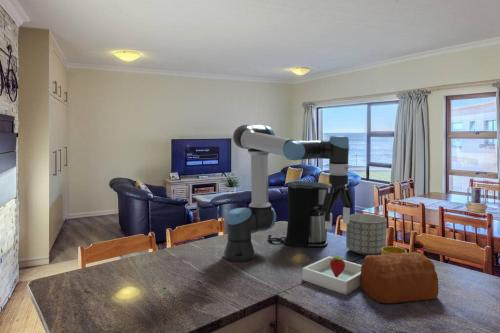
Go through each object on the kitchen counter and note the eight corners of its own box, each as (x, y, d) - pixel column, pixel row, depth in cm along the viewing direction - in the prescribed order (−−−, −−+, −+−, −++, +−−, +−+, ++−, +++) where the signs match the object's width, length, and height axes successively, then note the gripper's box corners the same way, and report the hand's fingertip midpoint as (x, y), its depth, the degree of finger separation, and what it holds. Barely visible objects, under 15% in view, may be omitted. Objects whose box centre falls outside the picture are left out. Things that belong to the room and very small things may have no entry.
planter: (389, 251, 180) (390, 216, 179) (380, 262, 164) (381, 224, 163) (352, 245, 190) (352, 212, 189) (341, 255, 175) (341, 219, 173)
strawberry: (341, 274, 149) (343, 251, 148) (346, 281, 141) (348, 256, 141) (327, 273, 149) (329, 250, 148) (331, 280, 141) (333, 255, 140)
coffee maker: (335, 246, 188) (336, 184, 185) (277, 251, 181) (277, 186, 178) (318, 235, 210) (319, 179, 207) (266, 238, 203) (266, 181, 200)
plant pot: (376, 267, 158) (377, 246, 157) (398, 266, 159) (399, 245, 158) (387, 276, 148) (388, 254, 147) (411, 275, 149) (411, 253, 148)
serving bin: (302, 279, 145) (302, 268, 145) (329, 266, 159) (329, 256, 159) (346, 295, 131) (346, 282, 130) (370, 279, 145) (371, 267, 145)
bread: (442, 299, 127) (443, 260, 126) (380, 306, 122) (382, 265, 121) (411, 280, 144) (413, 245, 142) (356, 286, 139) (357, 249, 138)
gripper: (329, 177, 130) (328, 233, 132) (362, 172, 147) (360, 222, 149) (312, 176, 135) (312, 230, 137) (346, 171, 153) (345, 219, 155)
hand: (337, 226), depth 143 cm, fingers open, 13 cm apart
